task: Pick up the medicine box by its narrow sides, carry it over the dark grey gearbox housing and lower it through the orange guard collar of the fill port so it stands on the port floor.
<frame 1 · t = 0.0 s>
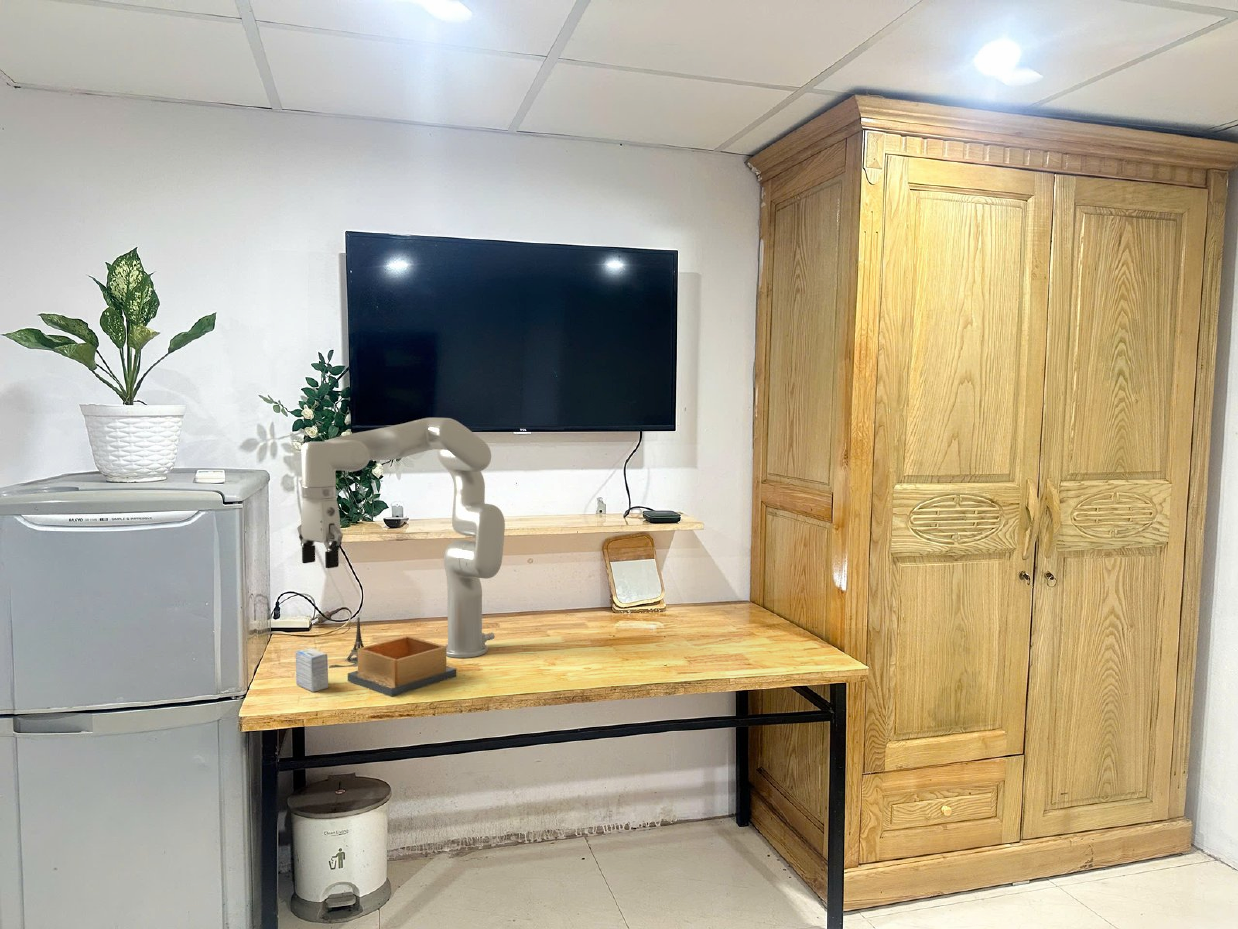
hand: (320, 565, 205), 31 cm above the table, tool pointing down, fingers open, 9 cm apart
gearbox housing: (402, 678, 218), on the table
eiffel tower figurine: (358, 663, 233), on the table
medicine box: (312, 687, 212), on the table
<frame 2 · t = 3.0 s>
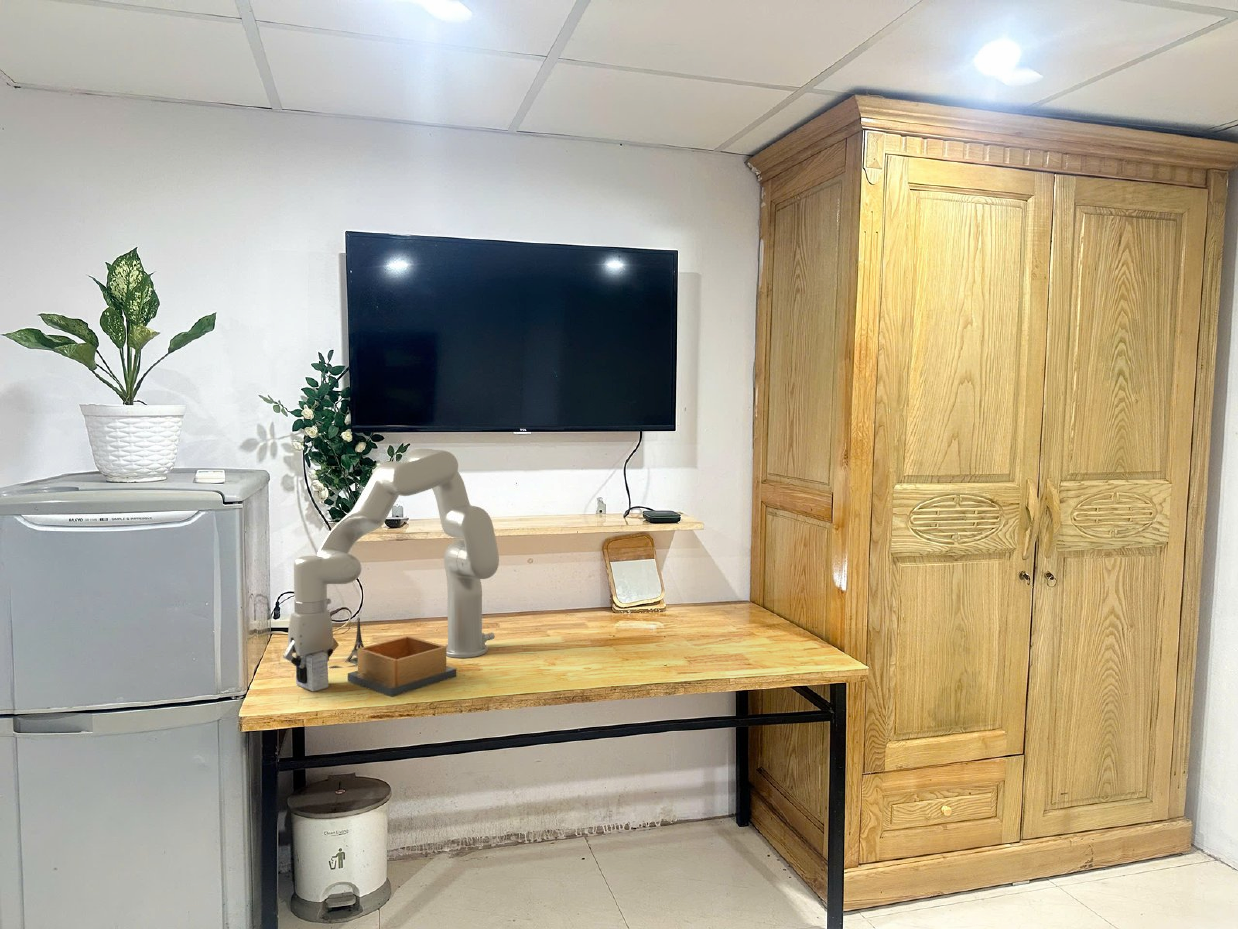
hand: (312, 679, 211), 2 cm above the table, tool pointing down, fingers closed on medicine box, 4 cm apart
medicine box: (312, 687, 212), on the table, touching gripper
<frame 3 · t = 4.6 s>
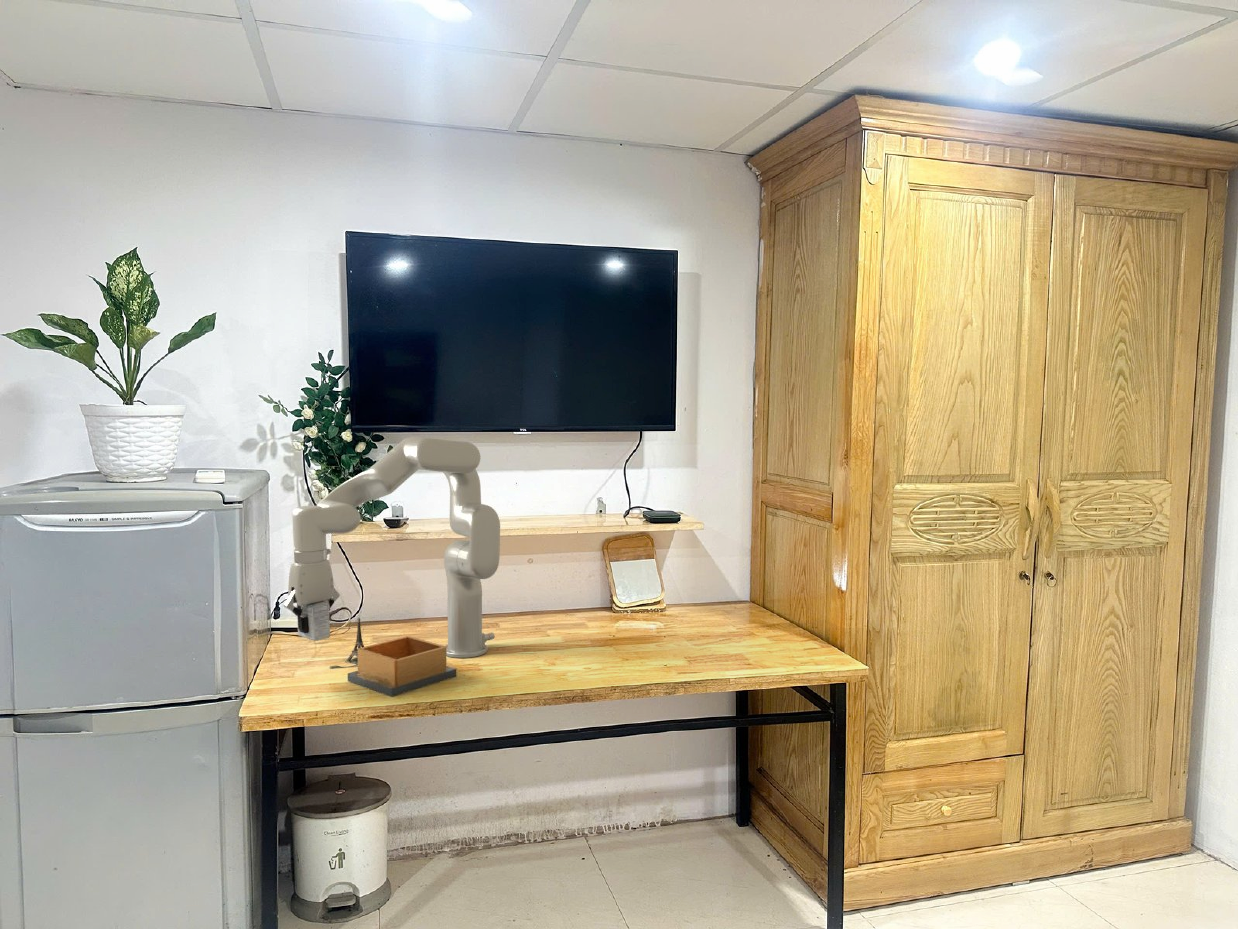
hand: (313, 629, 211), 14 cm above the table, tool pointing down, fingers closed on medicine box, 4 cm apart
medicine box: (314, 637, 211), point 12 cm above the table, touching gripper
everything else where it was.
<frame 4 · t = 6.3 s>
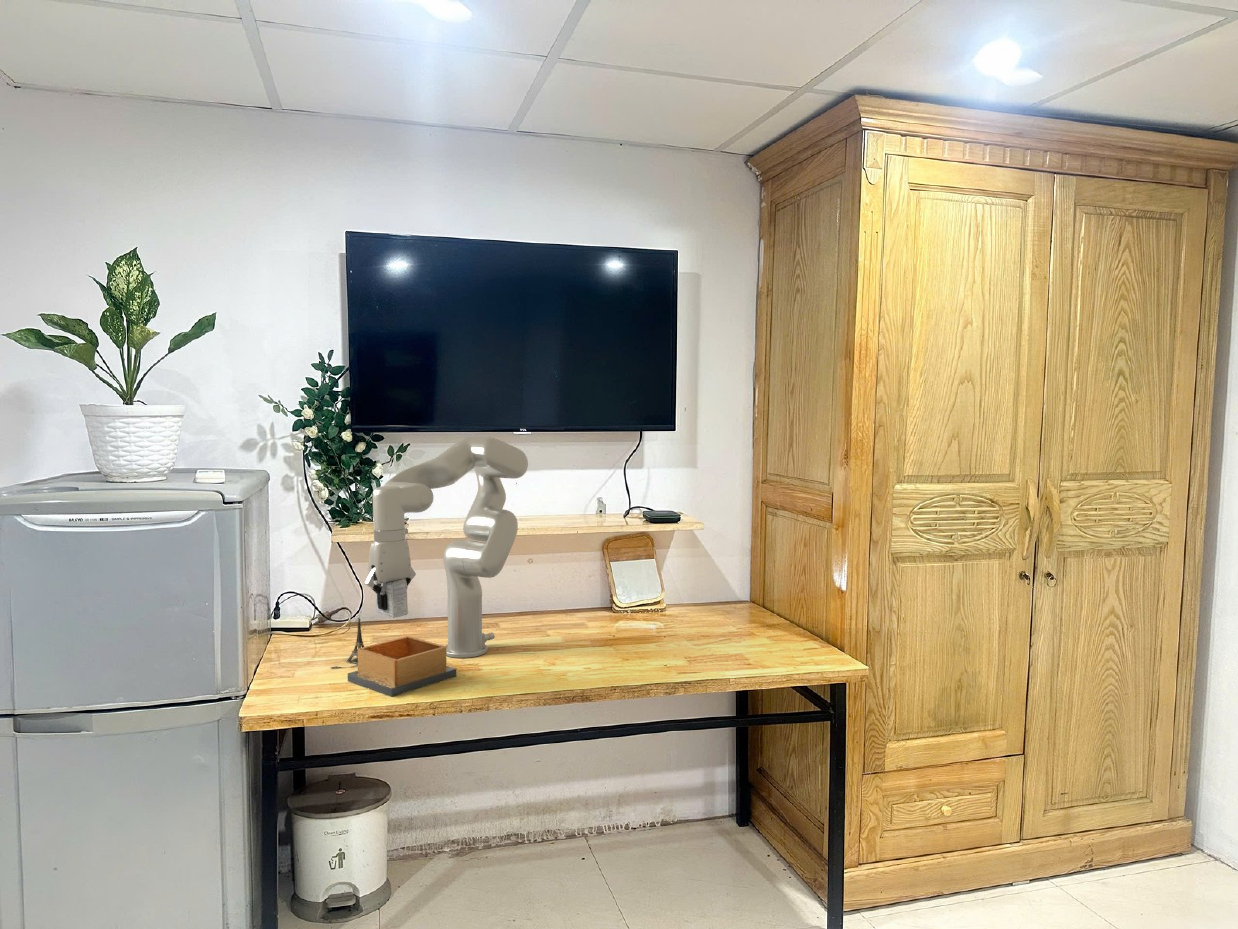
hand: (391, 606, 216), 19 cm above the table, tool pointing down, fingers closed on medicine box, 4 cm apart
medicine box: (392, 614, 217), point 17 cm above the table, touching gripper
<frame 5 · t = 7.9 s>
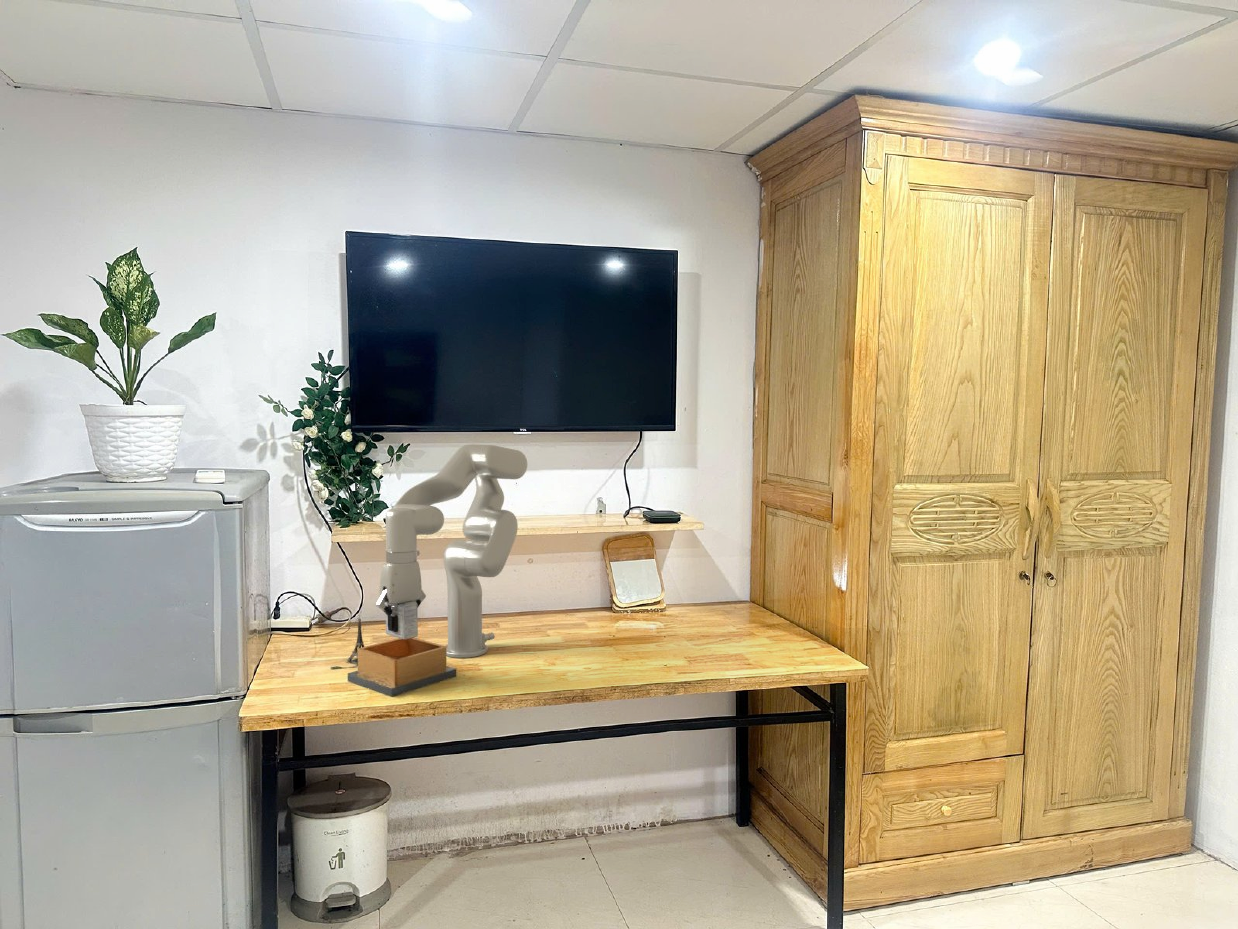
hand: (401, 628, 217), 13 cm above the table, tool pointing down, fingers closed on medicine box, 4 cm apart
medicine box: (401, 636, 217), point 11 cm above the table, touching gripper
when the fingers open (6 cm above the table, at t = 9.5 s): medicine box drops 2 cm, resting on gearbox housing.
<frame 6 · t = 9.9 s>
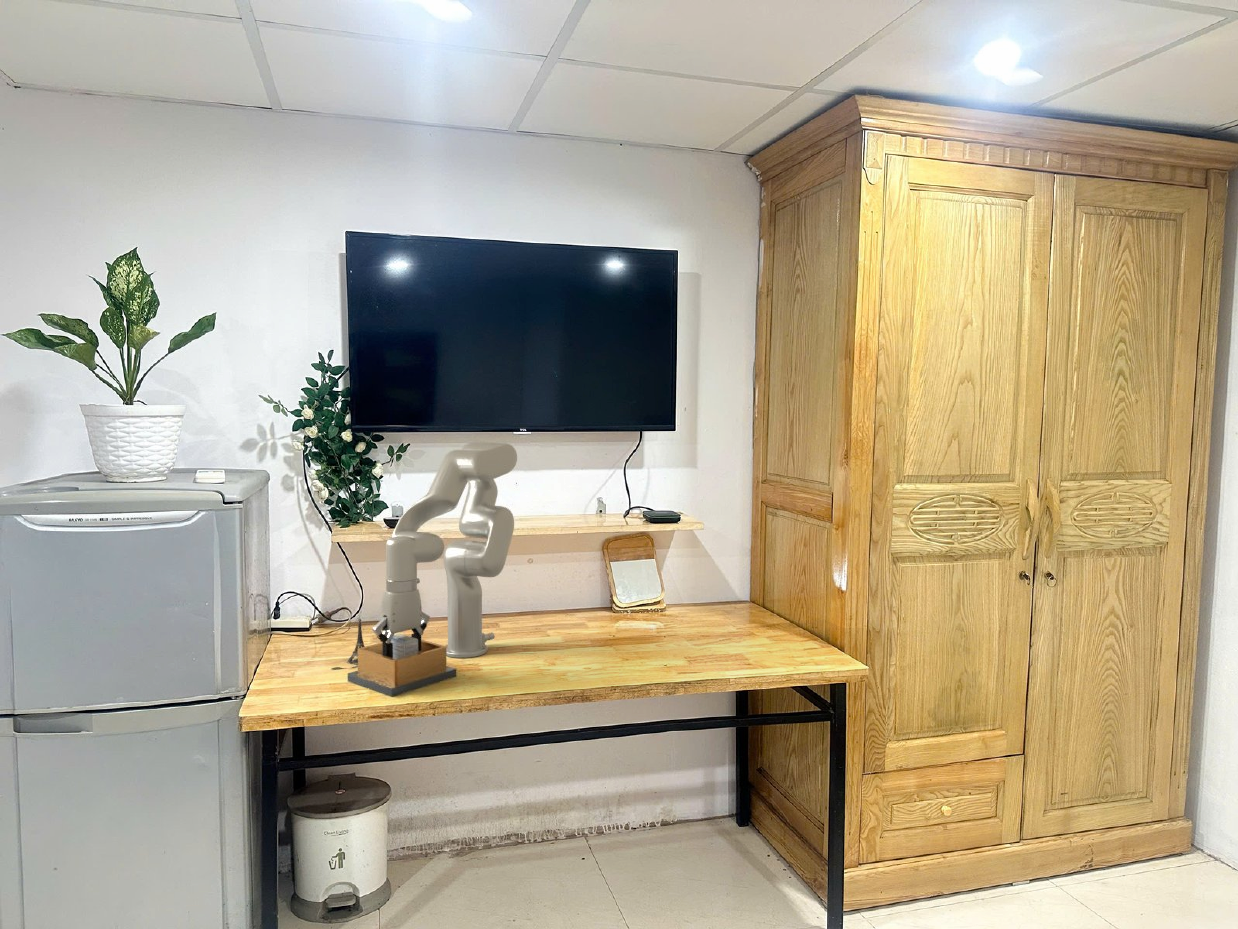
hand: (402, 653, 218), 7 cm above the table, tool pointing down, fingers open, 8 cm apart
medicine box: (402, 672, 218), point 2 cm above the table, touching gearbox housing
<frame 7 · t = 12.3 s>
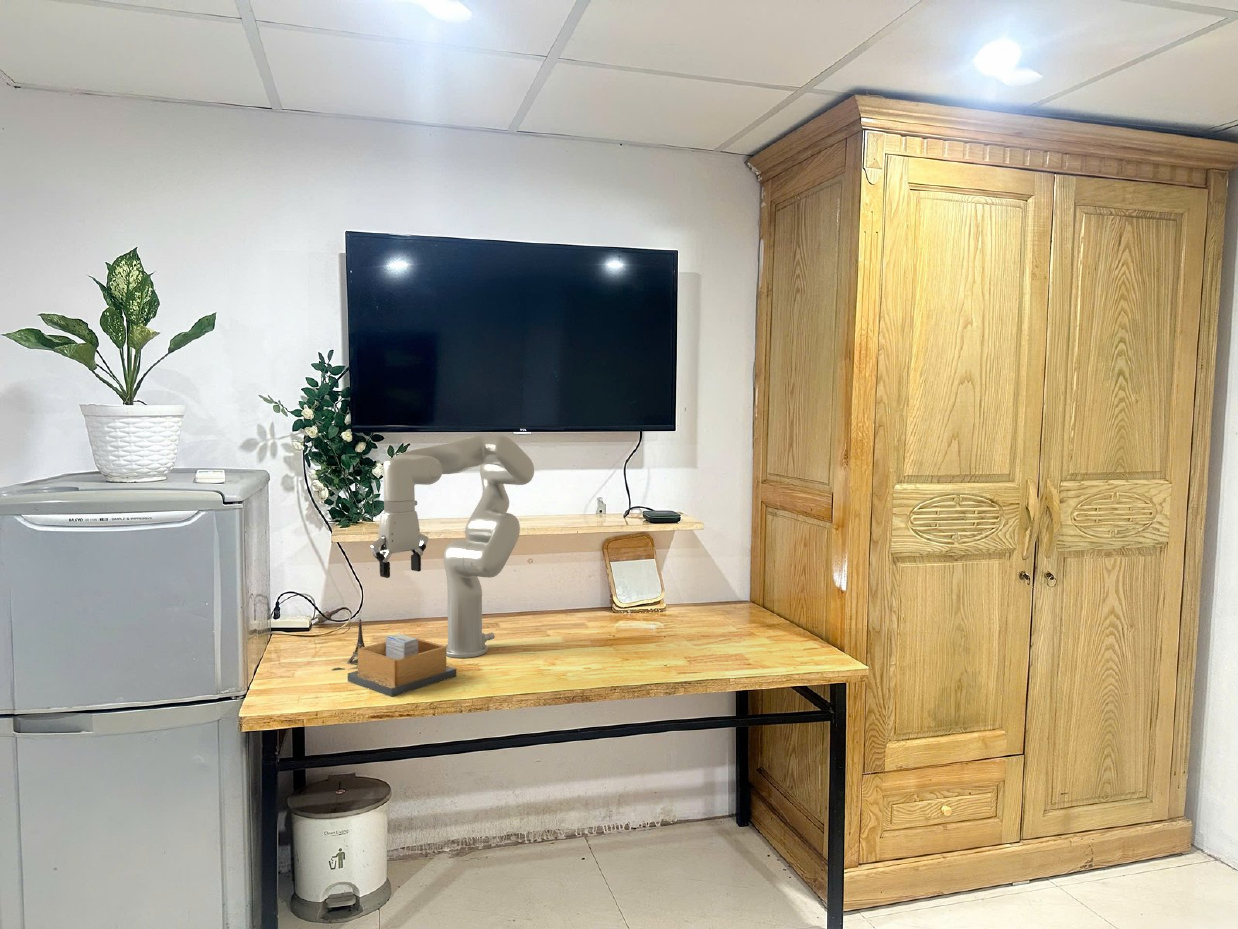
hand: (400, 573, 218), 27 cm above the table, tool pointing down, fingers open, 9 cm apart
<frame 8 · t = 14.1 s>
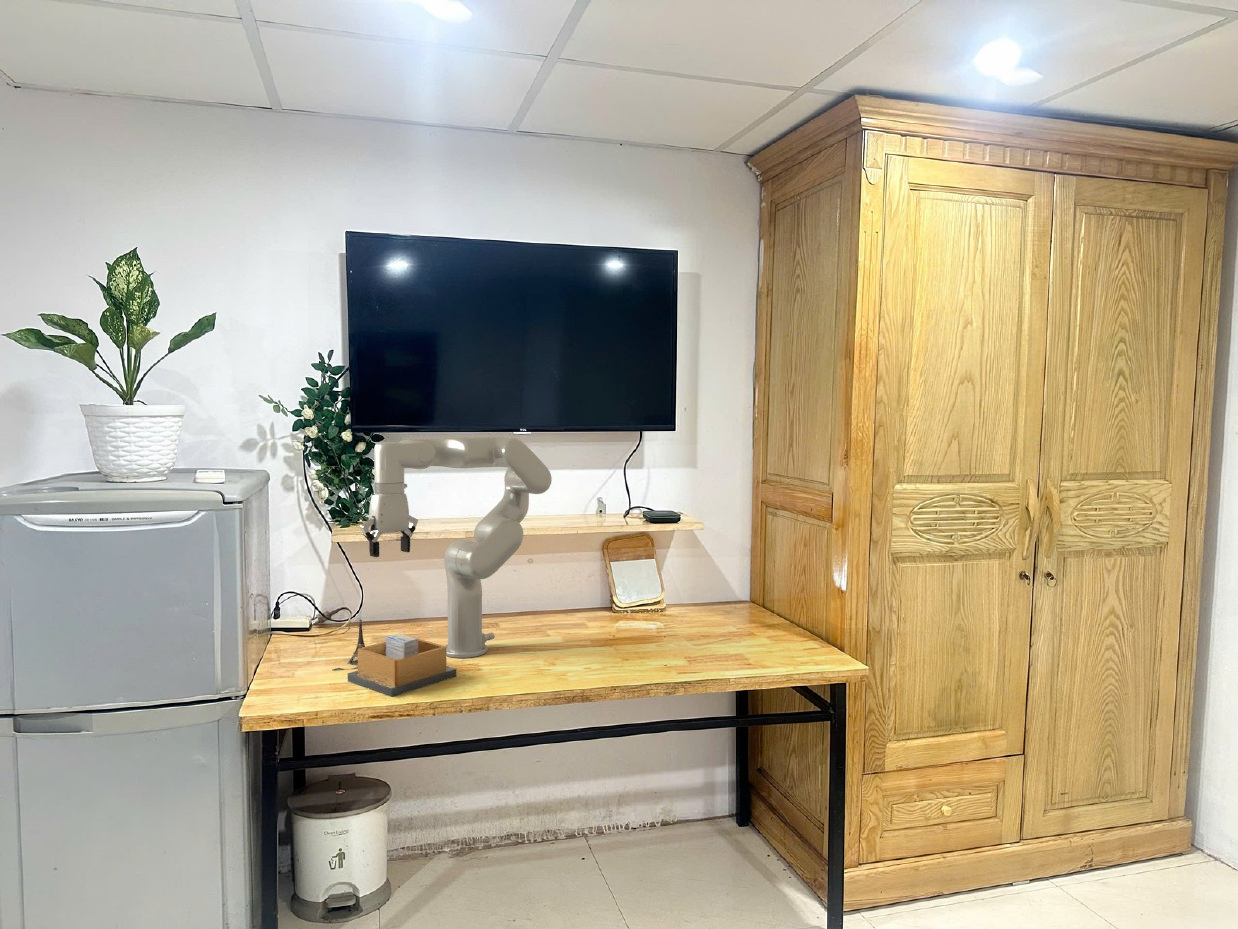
hand: (390, 554, 225), 30 cm above the table, tool pointing down, fingers open, 9 cm apart
at the end: medicine box inside the target area on the gearbox housing (0.1 cm from its centre), point 1.8 cm above the gearbox housing's base; medicine box tilted 0°; the gripper is holding nothing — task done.
